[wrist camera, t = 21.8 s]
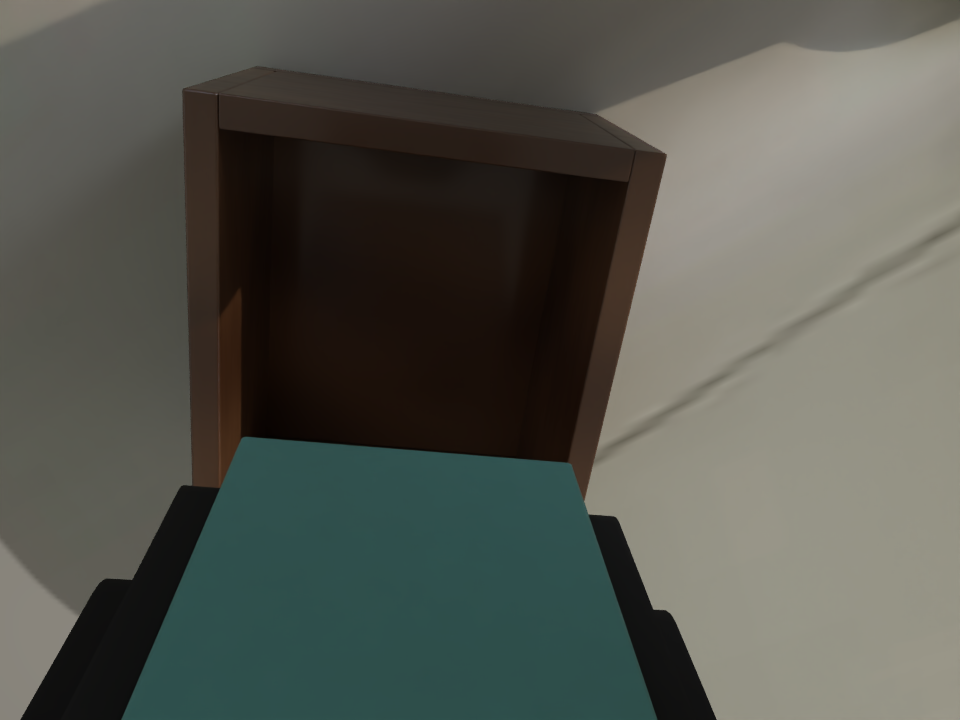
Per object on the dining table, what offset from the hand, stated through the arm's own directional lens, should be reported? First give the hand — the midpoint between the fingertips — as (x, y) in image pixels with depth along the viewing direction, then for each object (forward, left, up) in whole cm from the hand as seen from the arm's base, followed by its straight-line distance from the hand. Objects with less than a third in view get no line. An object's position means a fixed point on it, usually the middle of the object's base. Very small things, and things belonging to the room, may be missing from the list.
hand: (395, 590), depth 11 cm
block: (0, 0, 0) cm, 0 cm away
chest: (+3, 0, -21) cm, 21 cm away
